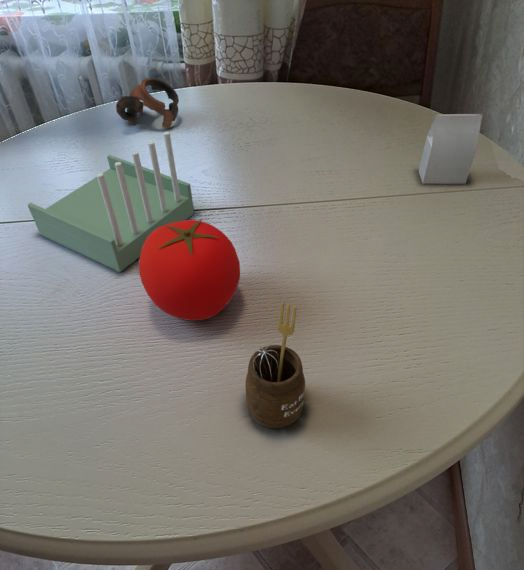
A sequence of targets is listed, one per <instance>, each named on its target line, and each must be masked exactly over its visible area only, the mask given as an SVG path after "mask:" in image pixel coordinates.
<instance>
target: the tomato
mask: <svg viewBox="0 0 524 570" xmlns="http://www.w3.org/2000/svg"><path fill="white" fill-rule="evenodd" d="M202 220H203V218H201V219H200V220H195V219H187V220H184V221H178V222H174V223H170V224H166V225H164V226H161V227H159V228H157V229H155V230H154V231H153V232H152V233H151V234H150V235H149V236H148V238H147V239H146V241H145V243H144V245H143V247H142V251H141V255H140V257H139V258H138V273H139V277H140V280H141V283H142V286H143V288H144V291H145V293H146V294H147V296H148V297H149V298H150V300H151V301H152V302H153V304H154V305H155V306H156V307H157V308H159V309H160V310H161V311H163V312H164V313H165V314H167V315H169V316H171V317H174V318H176V319H177V318H178V319H182V320H184V321H185V320H186V321H201V320H202V321H203V320H206V319H210V318H213V317H214V316H216V315H218V314H219V313H221V312H222V310H223V309H225V307H226V306H227V305H228V303H230V302H231V300H232V298H233V297H234V295H235V293H236V291H237V288H238V286H239V283H240V278H241V265H240V263H241V262H240V259H239V257H238V254H237V251H236V248H235V246H234V244H233V242H232V241H231V240H230V238H229V237H228V236H227V235H226V234H225V233H224V232H223V231H221V229H219V228H217V227H216V226H214V225H212V224H210V223H208V222H205V221H202Z"/></svg>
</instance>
